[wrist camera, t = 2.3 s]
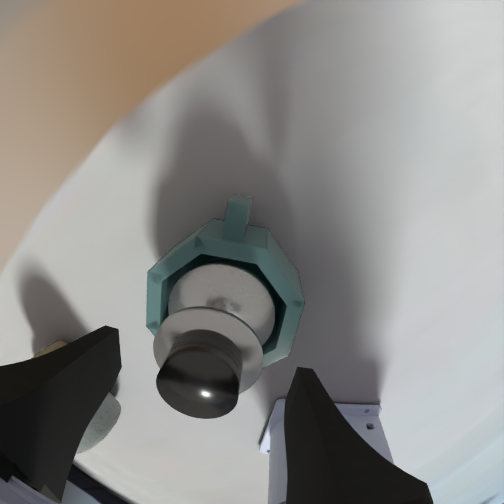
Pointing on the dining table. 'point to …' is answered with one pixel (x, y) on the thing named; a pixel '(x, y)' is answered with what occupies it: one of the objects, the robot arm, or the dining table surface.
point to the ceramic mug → (103, 416)
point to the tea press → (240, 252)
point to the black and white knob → (213, 338)
